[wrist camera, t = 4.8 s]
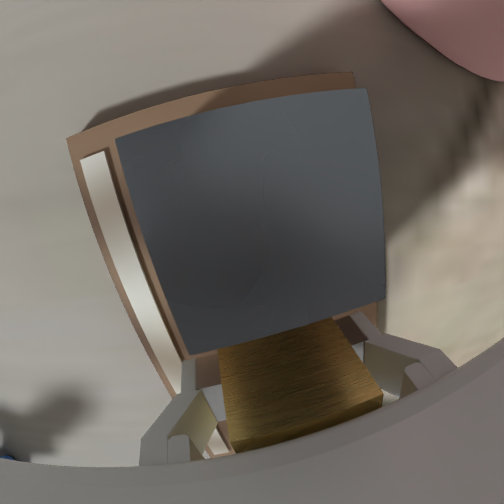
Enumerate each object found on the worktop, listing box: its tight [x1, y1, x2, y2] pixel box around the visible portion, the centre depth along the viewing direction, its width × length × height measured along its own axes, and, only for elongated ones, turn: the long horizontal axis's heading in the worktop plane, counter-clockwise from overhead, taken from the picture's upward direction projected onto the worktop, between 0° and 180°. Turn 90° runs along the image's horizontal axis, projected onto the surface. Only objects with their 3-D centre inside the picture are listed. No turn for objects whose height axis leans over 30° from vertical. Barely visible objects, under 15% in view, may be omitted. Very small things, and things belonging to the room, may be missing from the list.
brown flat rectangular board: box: [66, 72, 377, 458], centre depth 14 cm, size 20×11×1 cm, turn 12°
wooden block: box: [217, 317, 383, 453], centre depth 10 cm, size 4×4×7 cm
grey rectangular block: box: [115, 88, 386, 355], centre depth 7 cm, size 4×4×7 cm
